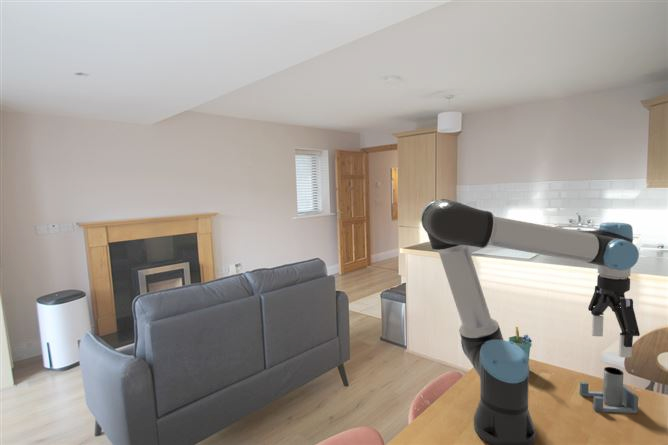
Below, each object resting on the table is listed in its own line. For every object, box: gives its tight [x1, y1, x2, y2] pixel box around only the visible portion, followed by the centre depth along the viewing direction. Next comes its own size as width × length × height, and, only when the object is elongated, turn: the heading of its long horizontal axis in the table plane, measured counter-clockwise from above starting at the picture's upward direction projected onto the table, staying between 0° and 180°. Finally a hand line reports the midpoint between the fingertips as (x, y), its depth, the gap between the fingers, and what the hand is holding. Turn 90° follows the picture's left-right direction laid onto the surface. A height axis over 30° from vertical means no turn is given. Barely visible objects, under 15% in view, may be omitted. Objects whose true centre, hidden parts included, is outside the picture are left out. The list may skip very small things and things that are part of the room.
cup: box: [508, 326, 533, 363], centre depth 126 cm, size 14×8×15 cm, turn 176°
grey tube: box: [602, 366, 624, 407], centre depth 105 cm, size 4×4×10 cm
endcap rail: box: [579, 381, 639, 414], centre depth 106 cm, size 11×8×5 cm
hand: (610, 345), depth 105 cm, fingers open, 13 cm apart
